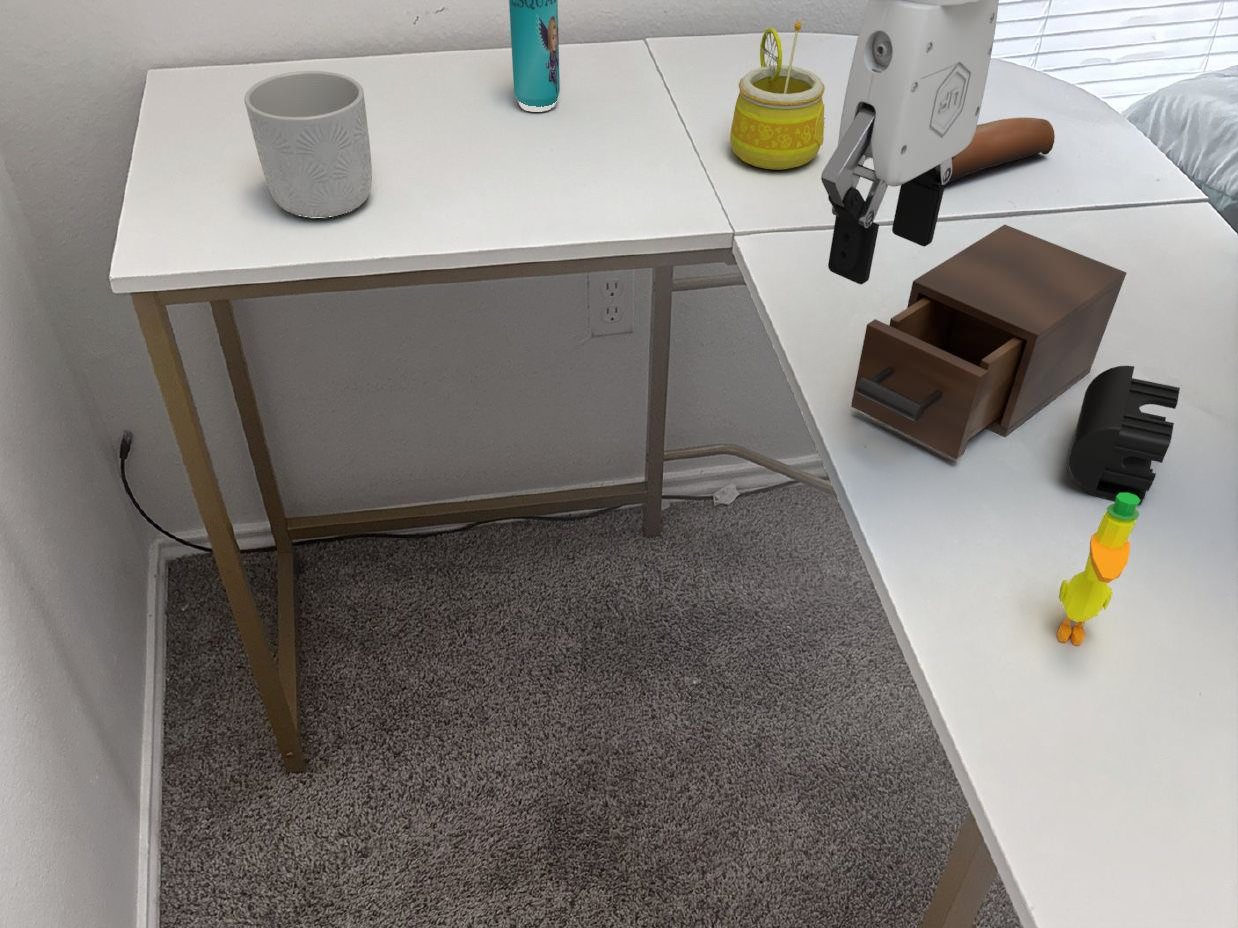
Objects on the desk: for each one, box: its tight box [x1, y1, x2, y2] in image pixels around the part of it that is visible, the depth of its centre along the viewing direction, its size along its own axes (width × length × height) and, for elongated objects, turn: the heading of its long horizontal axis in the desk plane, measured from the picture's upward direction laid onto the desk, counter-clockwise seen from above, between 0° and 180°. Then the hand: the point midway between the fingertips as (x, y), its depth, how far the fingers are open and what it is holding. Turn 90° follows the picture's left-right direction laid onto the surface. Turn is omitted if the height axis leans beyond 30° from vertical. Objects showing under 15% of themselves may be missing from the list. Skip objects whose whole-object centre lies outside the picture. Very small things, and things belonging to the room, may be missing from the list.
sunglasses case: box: [940, 117, 1056, 186], centre depth 133 cm, size 18×7×7 cm, turn 121°
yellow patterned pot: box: [729, 21, 826, 171], centre depth 132 cm, size 13×11×12 cm
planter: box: [244, 70, 373, 217], centre depth 124 cm, size 12×12×11 cm
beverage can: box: [508, 0, 561, 107], centre depth 138 cm, size 6×6×15 cm
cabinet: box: [906, 224, 1127, 437], centre depth 104 cm, size 15×13×10 cm
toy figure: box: [1056, 493, 1141, 646], centre depth 82 cm, size 7×4×12 cm, turn 164°
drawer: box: [850, 296, 1027, 460], centre depth 100 cm, size 18×11×8 cm, turn 135°
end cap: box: [1067, 365, 1181, 506], centre depth 97 cm, size 10×7×7 cm
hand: (880, 255), depth 82 cm, fingers open, 6 cm apart
